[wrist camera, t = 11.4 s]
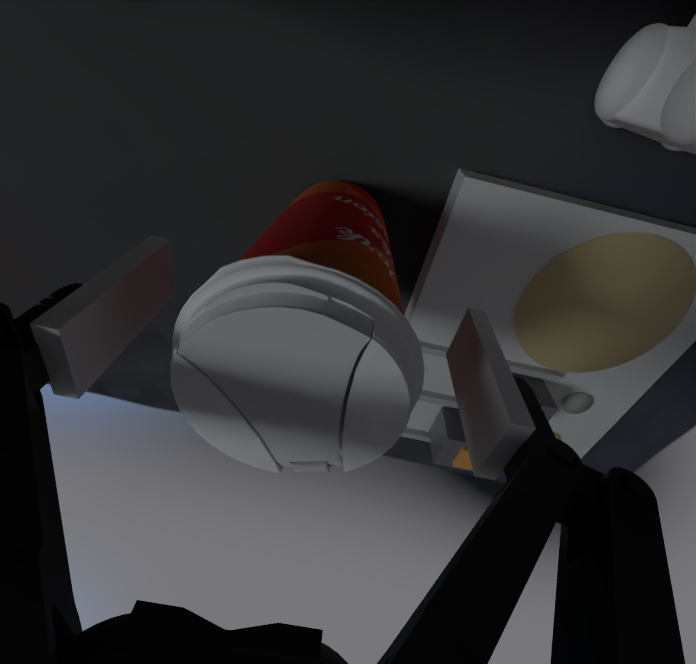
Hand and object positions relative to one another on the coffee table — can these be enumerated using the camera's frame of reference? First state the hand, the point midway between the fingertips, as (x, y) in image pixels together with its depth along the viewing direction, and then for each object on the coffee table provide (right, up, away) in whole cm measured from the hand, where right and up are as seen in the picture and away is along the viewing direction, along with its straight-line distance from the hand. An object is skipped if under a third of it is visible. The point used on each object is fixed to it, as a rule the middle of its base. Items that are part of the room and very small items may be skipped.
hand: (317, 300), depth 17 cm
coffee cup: (+1, +5, +7) cm, 9 cm away
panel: (+14, -2, +11) cm, 18 cm away
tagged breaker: (+11, -9, +13) cm, 19 cm away
